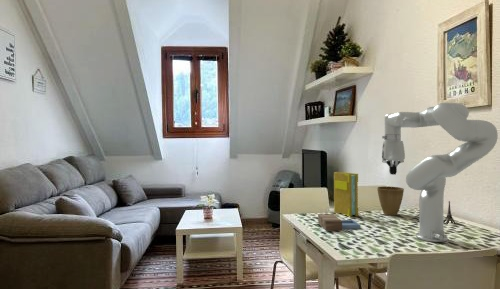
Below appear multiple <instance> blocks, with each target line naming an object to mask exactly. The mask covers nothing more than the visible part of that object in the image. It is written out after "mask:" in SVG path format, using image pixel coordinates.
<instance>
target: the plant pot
mask: <svg viewBox="0 0 500 289" xmlns="http://www.w3.org/2000/svg"><path fill="white" fill-rule="evenodd" d="M376 189H377V194H378V199H379V204H380V207H381V210H382V212H383V215H384V216H385V215H386V216H390V217H391V216H393V217H394V216H397V215H398V214H399V211H400V208H401V206H402V205H401V204H402V202H403V196H404V192H405V188H404V187H398V186H387V185H385V186H377V188H376Z"/></svg>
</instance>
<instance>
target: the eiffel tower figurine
mask: <svg viewBox="0 0 500 289" xmlns="http://www.w3.org/2000/svg"><path fill="white" fill-rule="evenodd" d="M445 221H447V222H446V224H445V225H447V224H448V223H449V221H451V223H453V222H454V224H457V223H455V222H456V221H455V220H454V218H453V216H452V211H451V201H450V200H448V208H447V214H446V217H445V218H444V222H445Z"/></svg>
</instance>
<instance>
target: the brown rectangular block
mask: <svg viewBox="0 0 500 289" xmlns="http://www.w3.org/2000/svg"><path fill="white" fill-rule="evenodd" d="M317 215H318V216H317V220H318V224H319V226H321V227H322V228H323V229H324V231H326V232H327V231H328V232H331V231H335V232H336V231H338V232H339V231H343V229H342V221H341V220H342V219H340V218H339V217H337V216H336V215H335V214H333V213H332V214H331V213H329V214H328V213H323V214H321V213H319V214H317Z"/></svg>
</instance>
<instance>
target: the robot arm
mask: <svg viewBox="0 0 500 289" xmlns="http://www.w3.org/2000/svg"><path fill="white" fill-rule="evenodd" d="M469 113H470V111H469V108H468V107H467V106H466V105H464V104H462V103H459V102H458V103H457V102H440V103H437V104H436V105H435V106H428V107H427V108H425V111H417V112H413V111H397V112H396V113H387V114H385V115H384V135H382V137H381V138H382V139H384V140H383V142H382V149H381V162H382V163H384V164H386V165H388V167H389V168H388V169H389V174H390V175H394V176H395V175H396V174H397V172H398V171H397V167H398V165H400V164H403V163H405V158H406V153H405V146H404V141H403V140H402V138H401V137H402V129H401V128H411V129H412V128H413V129H414V128H425V127H426V128H427V127H435V126H440V127H441V128H442V129H443V130H444V131H446V132H447V133H448V134H449V135H450V136H451V137H452V138H454V139H455V140H457V141H459V142H463V143H462V144H461V145H459V146H457V147H455V149H453V150H451V151H450V152H448V153H445V154H432V155H429V156H427V157H426V158H424V159H423V160H422V161H420V162H418V164H417V163H416V165H414V167H412V168H410V170H409V171H408V172H407V174H406V177H405V182H406V185H407V186H408V187H409V188H410V189H412V190H414V191H420V194H419V198H418V199H419V200H418V201H419V204H418V206H419V210H418V211H419V214H418V215H419V218H418V219H419V232H418V233H416V234H415V237H416V239H419V240H421V241H427V242H431V243H432V242H433V243H442V242H447V241H449V237H448V236H447V235H445V230H444V228H445V227H444V226H445V223H444V220H445V218H444V194H445V188H446V181H447V180H446V179H447V178H452V177H454V176H457V175H458V174H460V173H461V172H462V171H465V170H466V169H467V168H469V167H470V166H472V165H473V164H474V163H476V162H478V161H479V160H481V159H482V158H484V157H485V156H486V155H488V154H489V153H490V152H491V151H492V150H493V149H494V148H495V146H496V144H497V143H498V142H497V141H498V136H499V135H498V134H499V133H498V130H497V127H496V126H495V125H494V123H492V122H490V121H488V120H482V119H467V118H468V117H469Z"/></svg>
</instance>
